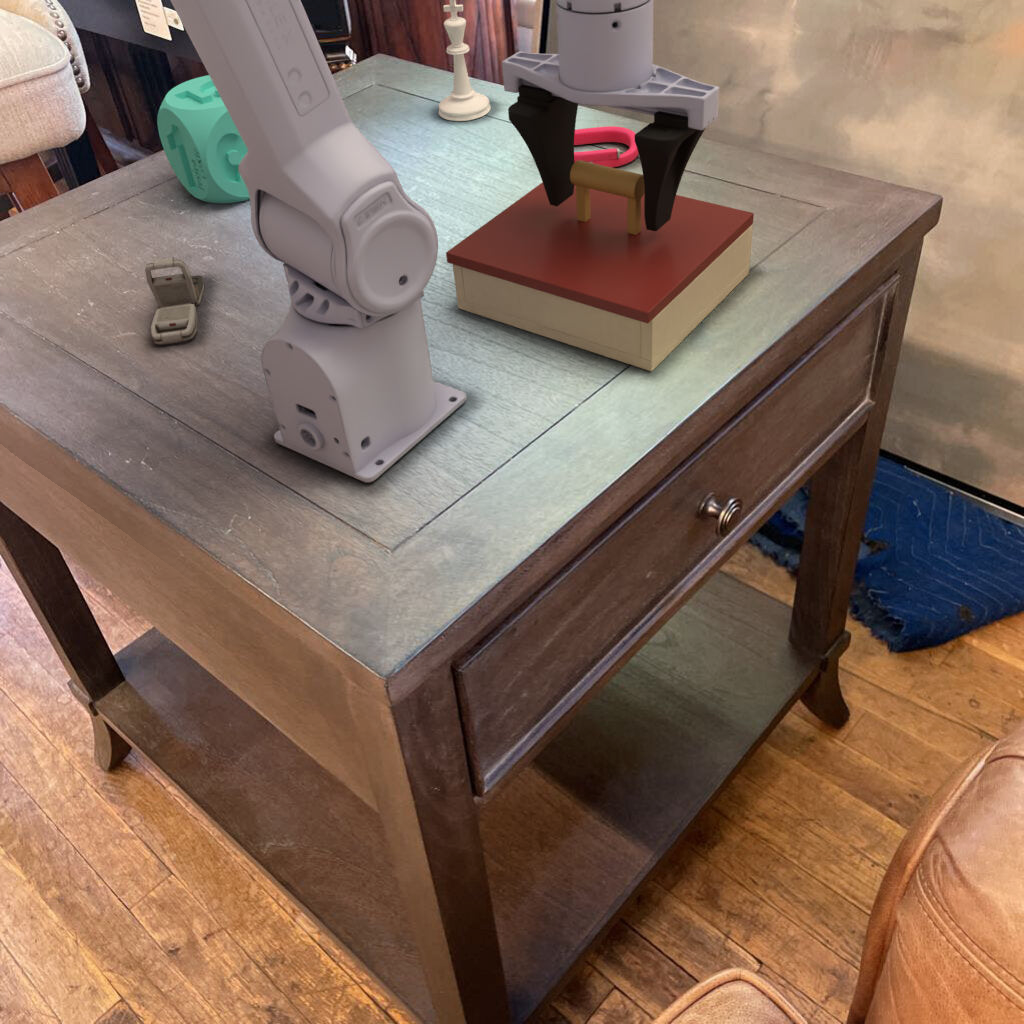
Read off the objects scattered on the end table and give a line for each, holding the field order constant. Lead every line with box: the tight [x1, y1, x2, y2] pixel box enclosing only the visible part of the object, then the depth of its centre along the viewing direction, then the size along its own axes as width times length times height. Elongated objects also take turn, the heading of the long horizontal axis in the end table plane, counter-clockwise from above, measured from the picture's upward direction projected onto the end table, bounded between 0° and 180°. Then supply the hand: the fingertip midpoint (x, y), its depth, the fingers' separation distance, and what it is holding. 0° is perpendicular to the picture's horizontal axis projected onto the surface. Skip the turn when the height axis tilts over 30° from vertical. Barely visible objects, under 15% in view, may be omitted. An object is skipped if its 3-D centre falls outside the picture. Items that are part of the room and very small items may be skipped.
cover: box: [445, 160, 755, 323], centre depth 71 cm, size 14×16×5 cm
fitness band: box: [574, 125, 639, 168], centre depth 91 cm, size 8×6×2 cm
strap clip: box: [144, 257, 205, 345], centre depth 76 cm, size 8×3×4 cm, turn 7°
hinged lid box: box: [451, 223, 754, 372], centre depth 74 cm, size 14×16×4 cm
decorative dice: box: [156, 74, 250, 204], centre depth 90 cm, size 8×8×8 cm
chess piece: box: [438, 0, 492, 122], centre depth 97 cm, size 5×5×10 cm
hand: (608, 211), depth 72 cm, fingers open, 7 cm apart
